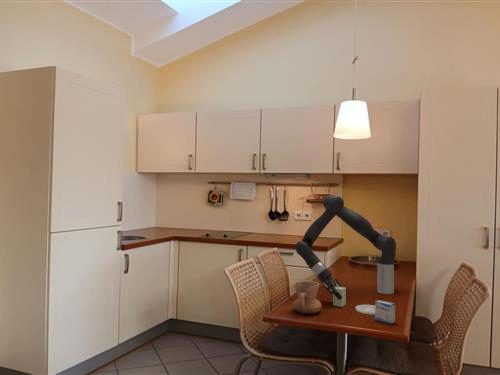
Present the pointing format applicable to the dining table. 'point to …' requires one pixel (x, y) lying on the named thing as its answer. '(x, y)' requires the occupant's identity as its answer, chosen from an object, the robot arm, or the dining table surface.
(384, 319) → the medicine box
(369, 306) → the dish
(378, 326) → the dining table surface
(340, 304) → the sage block
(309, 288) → the ceramic jug
